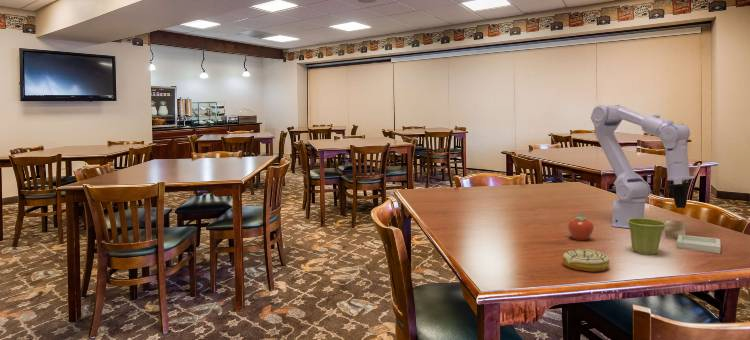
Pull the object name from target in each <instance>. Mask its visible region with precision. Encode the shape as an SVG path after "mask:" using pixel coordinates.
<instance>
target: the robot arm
mask: <svg viewBox="0 0 750 340" xmlns="http://www.w3.org/2000/svg"><path fill="white" fill-rule="evenodd" d="M623 120H624V121H626V122H628V123H632V124H634V125H638V126H641V130H642V132H644V133H647V134H650V135H652V136H653V137H657V138H659V140H660V141H661V142H662V144H663V148H664V152H665V160H666V161H665V162H666V163H665V165H666V174H667V177H666V179H667V181H673V183H672V184H667V188H668V189H669V191H670V193H671V196H672V197H673V201H674V205H675V207H676V209H685V208H686V206H687V203H688V202H687V201H688V194H689V193H688V192H689V189H690V186H691V184H692V183H691V182H685V181H686V180H691V179H695V178H696V177H695V176H694V175H690V164H689V163H690V162H689V155H688V153H689V152H688V143H687V141H688V140H689V138H690V136H691V131H690V128H689V127H688V126H687V125H685V124H684V123H676V124H675V123H674V121H673V120H666V119H664V118H661V115H659V114H651V115H648V116H646V115H644V114H641V113H640V112H637V111H634V110H632V109H630V108H628V107H626V106H623V105H620V104H615V105H604V104H603V105H602V104H598V105H596V106H595V107H593V109H592V112H591V115H590V121H591V122H592V124H593V127H594V133H595V138H596V139H597V141H598V143H599V145H600V146H601V149H602V151H603V153H604V155H605V157H606V159H607V160H608V162H609V164H610V166H611V169H612V170H613V172H614V174H615V177H616V179H615V181H614V182H613V185H614V187H615V192H616V196H617V198H618V199H614V201H613V205H612V219H611V220H612V222H611V223H612V224H611V226H612V227H614V228H624V229H630V227H629V223H628V222H627V220H628V219H630V218H645V209H646V208H645V206H646V205H645V204H646V201H647V198H649V196H650V194H651V187H650V184H649V183H648V182H647V181H645V180H644V179H643V177H642V175H640V174H638V173H636V172H635V171H634V170H633V167H632V166H631V164H630V162H629V160H628V158H627V156H626V155H625V153H624V151H623V148H622V147H621V145H620V144H619V141H618V139H617V137H616V135H615V131H616V130H617V129H618V127H619V126H620V124H621V122H622V121H623Z"/></svg>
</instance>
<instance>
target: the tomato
mask: <svg viewBox="0 0 750 340" xmlns="http://www.w3.org/2000/svg"><path fill="white" fill-rule="evenodd" d="M594 229H595V228H594V224H593V222H592V221H590V220H589V219H588V218H587V217H584V216H583V214H582V213H579V215H578V216H575V218H572V219H571V220H569V222H568V223H567V230H568V234H569V235H570V236H571V237H572V238H574V240H575V239H576V240H577V241H586V240H588V239H590V237H591V236H592V234H593V232H594ZM576 240H575V241H576Z"/></svg>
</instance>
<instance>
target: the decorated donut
mask: <svg viewBox="0 0 750 340" xmlns="http://www.w3.org/2000/svg"><path fill="white" fill-rule="evenodd" d="M562 259H563V260H562V261H563V265H564V266H565V267H567V268H569V269H574V270H575V271H582V272H591V273H593V272H594V273H595V272H602V271H605V270H607V268H608V267H609V266H610V257H609V256H608V255H607V254H605V253H604V252H602V251H600V250H594V249H587V248H586V249H584V248H580V249H579V248H577V249H572V250H571V249H570V250H568V251H565V252H564V254H563V255H562Z"/></svg>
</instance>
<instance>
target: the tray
mask: <svg viewBox="0 0 750 340" xmlns="http://www.w3.org/2000/svg"><path fill="white" fill-rule="evenodd" d="M721 247H722V246H721V238H714V237H705V236H695V235H687V234H685V235H680V234H679V235H678V239H677V240H676V248H677V249H682V250H683V249H684V250H688V251H690V250H691V251H696V252H705V253H714V254H721Z"/></svg>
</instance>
